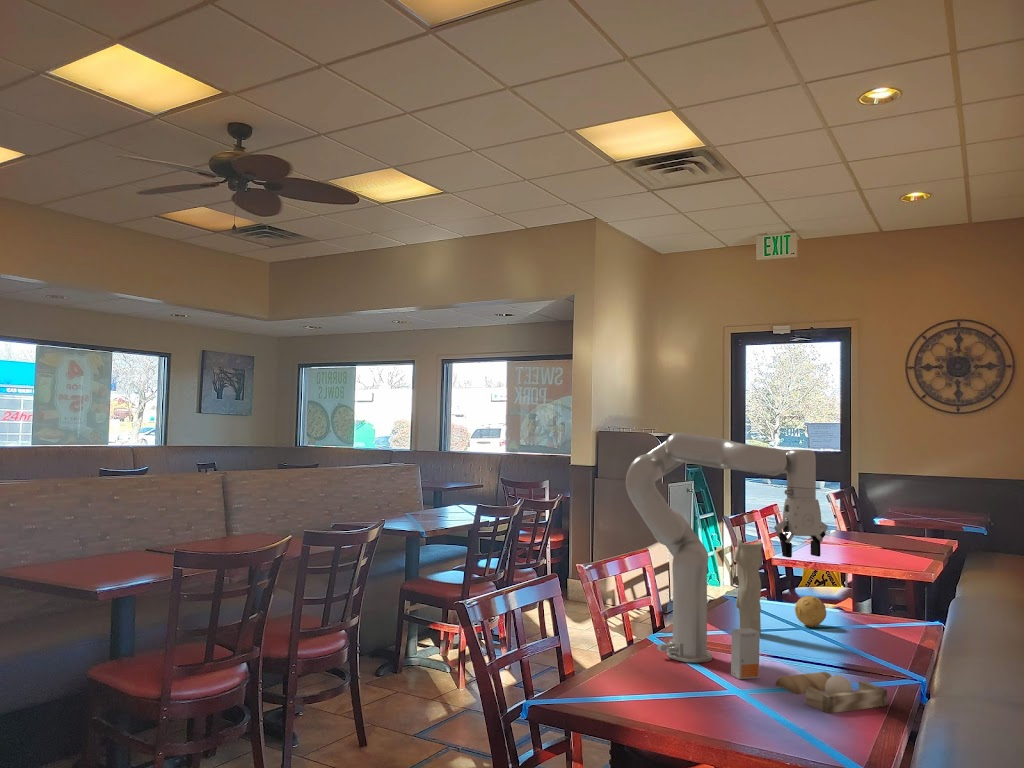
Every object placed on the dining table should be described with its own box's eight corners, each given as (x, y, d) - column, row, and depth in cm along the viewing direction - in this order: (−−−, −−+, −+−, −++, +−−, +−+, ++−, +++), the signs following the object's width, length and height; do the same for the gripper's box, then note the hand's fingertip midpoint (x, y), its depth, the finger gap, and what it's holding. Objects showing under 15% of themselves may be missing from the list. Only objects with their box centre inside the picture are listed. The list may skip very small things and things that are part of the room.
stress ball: (797, 624, 268) (784, 608, 263) (813, 602, 270) (800, 585, 266) (820, 636, 259) (807, 619, 255) (836, 613, 261) (823, 596, 257)
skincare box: (739, 680, 201) (739, 632, 202) (730, 675, 205) (730, 628, 206) (760, 678, 203) (760, 631, 204) (750, 673, 207) (751, 627, 208)
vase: (732, 634, 248) (732, 539, 250) (738, 629, 256) (739, 536, 258) (759, 638, 244) (759, 541, 246) (765, 632, 251) (765, 539, 253)
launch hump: (796, 715, 190) (796, 681, 191) (775, 704, 198) (775, 672, 198) (838, 709, 195) (838, 677, 195) (816, 699, 202) (816, 668, 203)
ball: (818, 674, 189) (820, 700, 188) (836, 679, 183) (838, 706, 182) (838, 672, 191) (840, 697, 190) (856, 676, 185) (859, 703, 184)
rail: (827, 713, 178) (827, 697, 178) (805, 702, 184) (805, 687, 185) (887, 705, 184) (887, 690, 184) (863, 696, 191) (863, 681, 191)
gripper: (784, 495, 209) (784, 559, 208) (835, 494, 215) (836, 557, 214) (766, 493, 216) (766, 555, 215) (816, 492, 222) (816, 553, 221)
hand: (801, 556), depth 215 cm, fingers open, 9 cm apart
